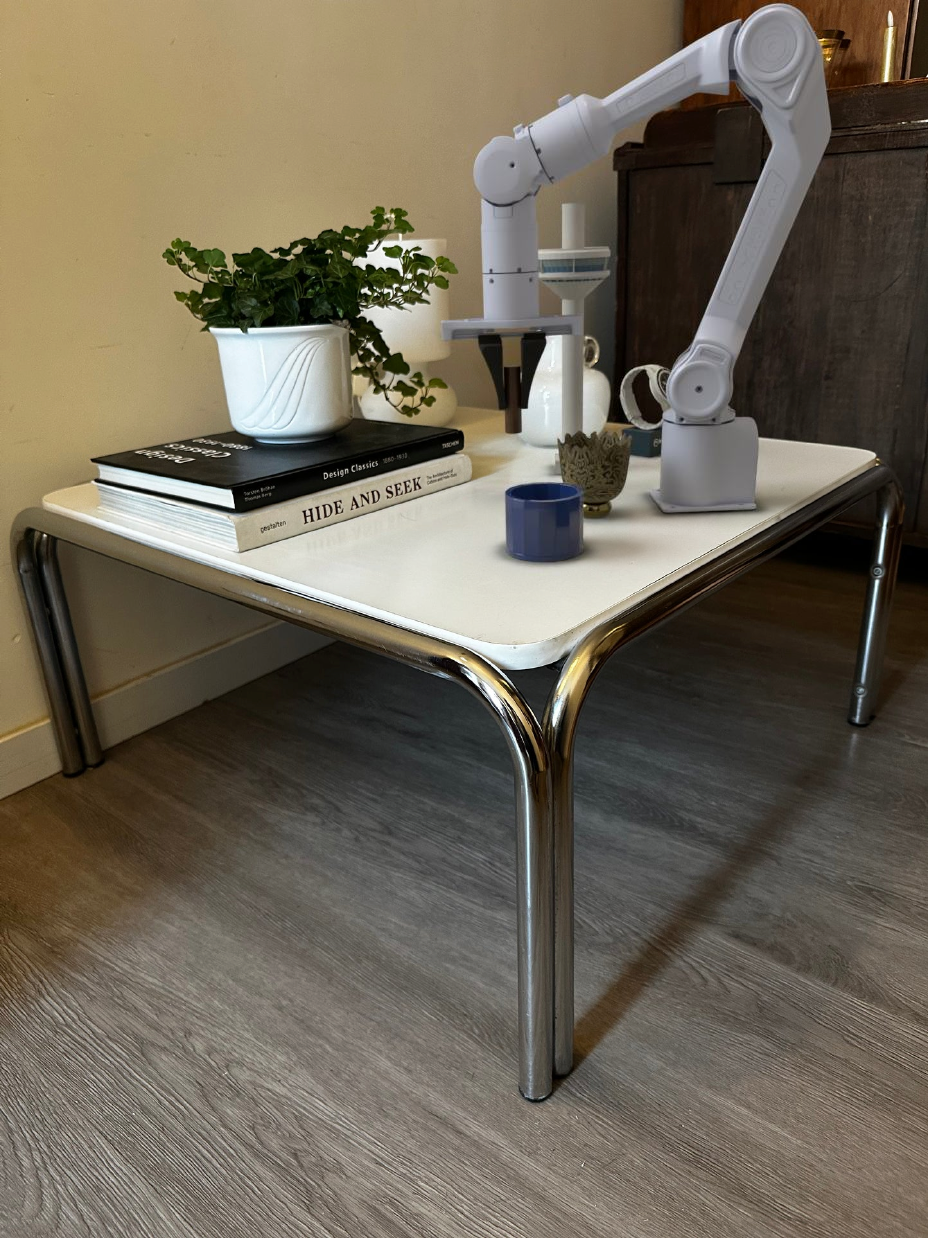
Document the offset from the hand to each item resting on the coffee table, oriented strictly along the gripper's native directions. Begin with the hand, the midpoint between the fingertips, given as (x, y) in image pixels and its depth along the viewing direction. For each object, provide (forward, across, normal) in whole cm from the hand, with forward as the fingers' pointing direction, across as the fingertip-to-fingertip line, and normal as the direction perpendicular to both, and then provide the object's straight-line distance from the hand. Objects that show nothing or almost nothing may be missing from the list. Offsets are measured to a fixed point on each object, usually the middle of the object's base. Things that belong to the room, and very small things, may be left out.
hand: (513, 407), depth 99 cm
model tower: (+10, -8, -12) cm, 17 cm away
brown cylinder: (+3, 0, 0) cm, 3 cm away
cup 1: (+10, -2, +19) cm, 22 cm away
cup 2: (+10, -8, +8) cm, 15 cm away
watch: (+10, -18, -21) cm, 30 cm away
